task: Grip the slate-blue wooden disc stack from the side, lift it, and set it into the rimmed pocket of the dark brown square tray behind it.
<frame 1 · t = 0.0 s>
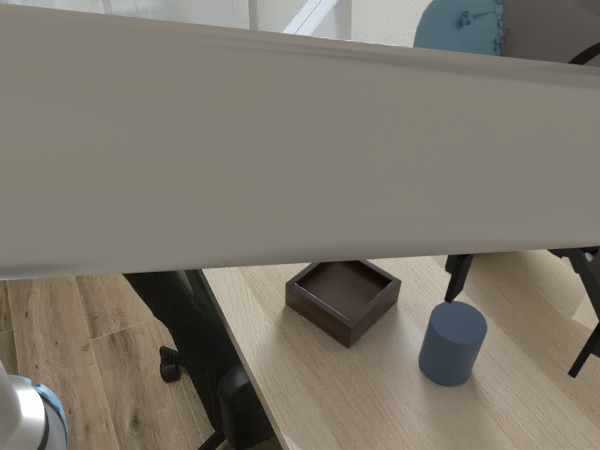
hand: (510, 329, 57), 18 cm above the table, tool pointing down, fingers open, 13 cm apart
dark brown square tray: (341, 302, 82), on the table
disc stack: (444, 364, 75), on the table
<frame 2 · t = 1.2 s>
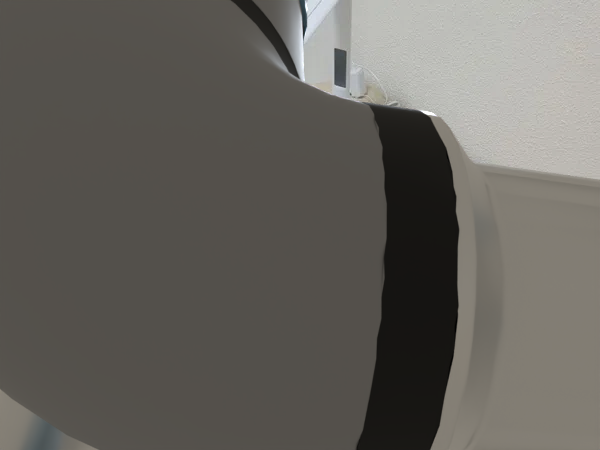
hand: (531, 308, 56), 20 cm above the table, tool tilted 45°, fingers open, 13 cm apart
nothing on the table moved.
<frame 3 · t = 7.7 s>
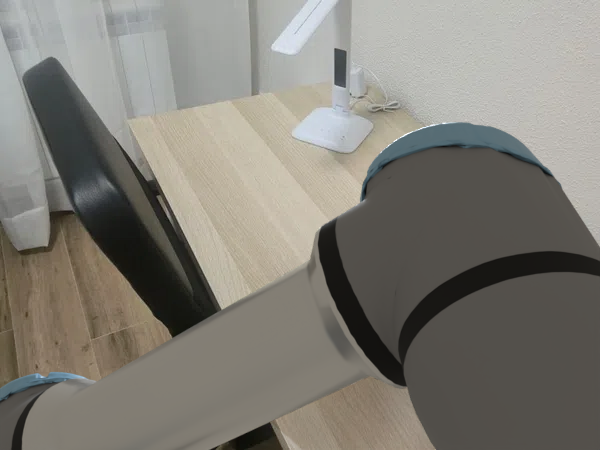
hand: (420, 315, 73), 6 cm above the table, tool horizontal, fingers closed on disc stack, 7 cm apart
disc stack: (444, 364, 75), on the table, touching gripper
everything else where it was.
when the fingers open (9 cm above the table, at t = 16.0 s): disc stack stays where it is, resting on dark brown square tray.
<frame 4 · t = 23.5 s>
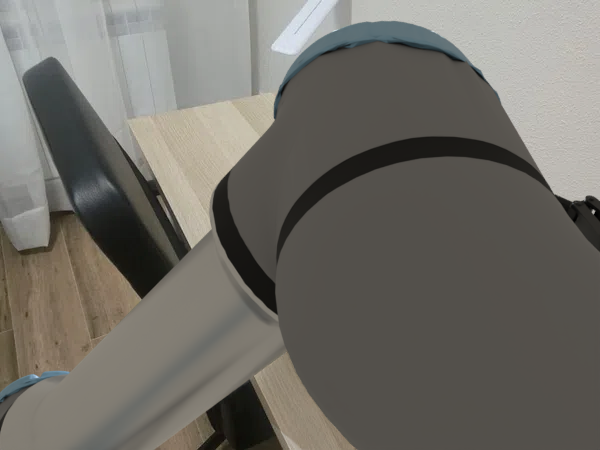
hand: (478, 216, 58), 26 cm above the table, tool horizontal, fingers open, 13 cm apart
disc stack: (343, 288, 80), point 3 cm above the table, touching dark brown square tray
everything else where it was.
at the end: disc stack 0.0 cm off-centre on the dark brown square tray, point 3.0 cm above the dark brown square tray's base; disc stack tilted 0°; the gripper is holding nothing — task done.
